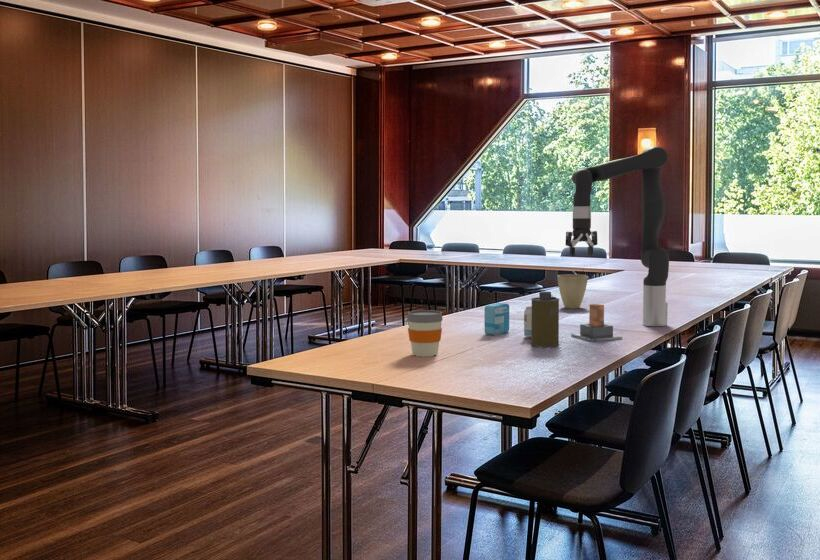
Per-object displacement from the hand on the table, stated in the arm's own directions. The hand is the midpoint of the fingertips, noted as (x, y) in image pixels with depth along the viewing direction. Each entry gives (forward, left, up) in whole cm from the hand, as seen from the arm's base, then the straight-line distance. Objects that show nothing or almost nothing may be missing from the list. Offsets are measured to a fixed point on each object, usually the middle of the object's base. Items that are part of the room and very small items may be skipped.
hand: (581, 255), depth 352 cm
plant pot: (-30, -53, -30) cm, 68 cm away
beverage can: (+32, +15, -30) cm, 47 cm away
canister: (+36, +31, -30) cm, 56 cm away
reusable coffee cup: (+84, +29, -30) cm, 94 cm away
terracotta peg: (+10, +26, -29) cm, 40 cm away
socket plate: (+10, +26, -30) cm, 41 cm away
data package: (+40, 0, -30) cm, 50 cm away
